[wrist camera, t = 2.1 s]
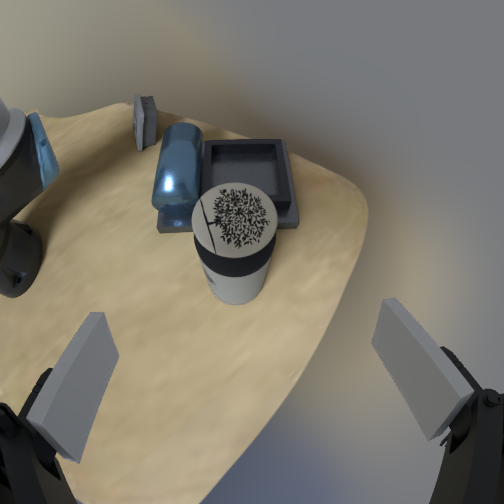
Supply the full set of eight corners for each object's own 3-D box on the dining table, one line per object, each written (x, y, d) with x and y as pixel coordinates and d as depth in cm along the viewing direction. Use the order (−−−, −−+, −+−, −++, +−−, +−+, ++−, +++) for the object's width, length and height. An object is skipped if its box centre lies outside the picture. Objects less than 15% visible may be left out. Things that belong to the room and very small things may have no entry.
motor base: (159, 233, 42) (143, 203, 34) (170, 151, 49) (162, 117, 41) (296, 228, 44) (309, 196, 36) (283, 147, 51) (289, 113, 43)
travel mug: (257, 250, 42) (269, 175, 25) (268, 300, 39) (290, 251, 22) (205, 257, 41) (186, 185, 25) (212, 309, 38) (192, 265, 22)
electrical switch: (133, 127, 52) (127, 95, 44) (155, 121, 54) (151, 88, 45) (138, 154, 49) (130, 119, 41) (162, 147, 51) (158, 111, 42)
